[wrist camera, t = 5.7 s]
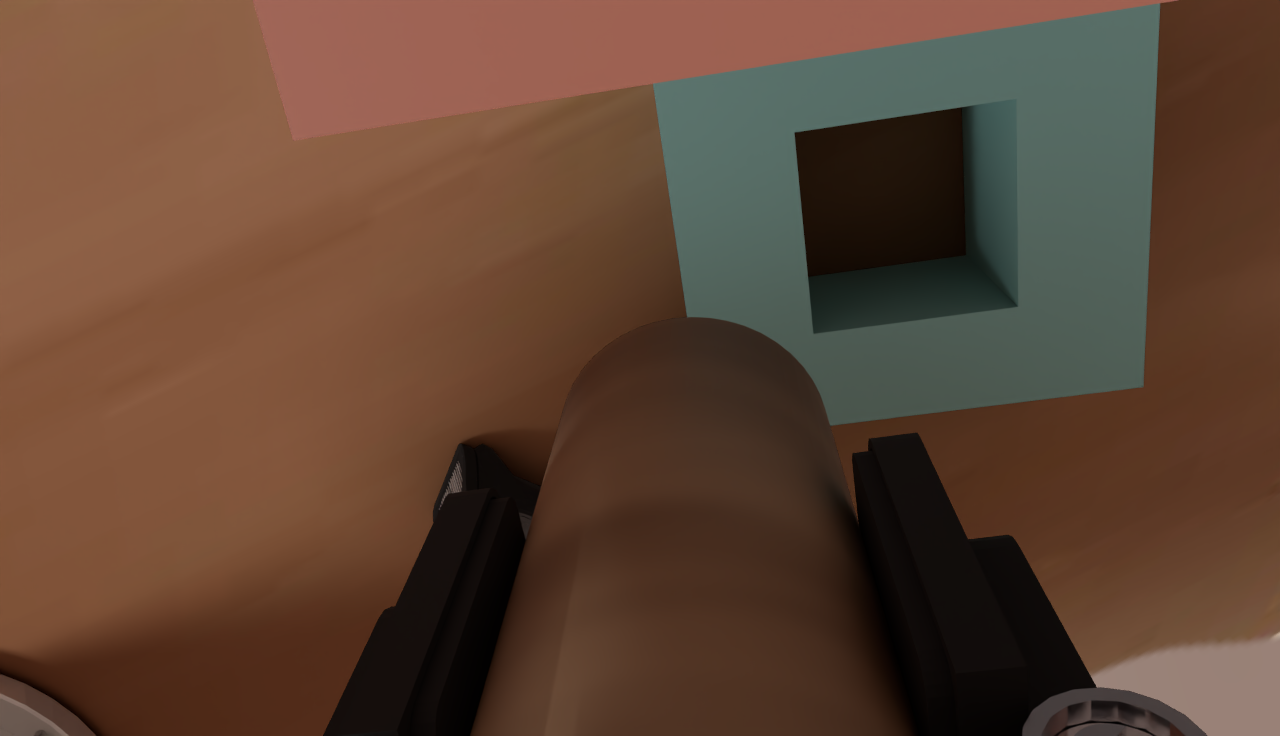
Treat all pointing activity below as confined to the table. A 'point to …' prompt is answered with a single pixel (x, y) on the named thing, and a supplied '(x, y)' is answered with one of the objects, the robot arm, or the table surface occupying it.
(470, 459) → the electric trimmer
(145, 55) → the table surface
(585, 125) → the table surface
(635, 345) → the walnut peg
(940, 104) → the socket stand
